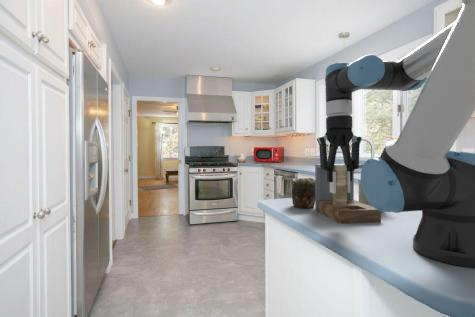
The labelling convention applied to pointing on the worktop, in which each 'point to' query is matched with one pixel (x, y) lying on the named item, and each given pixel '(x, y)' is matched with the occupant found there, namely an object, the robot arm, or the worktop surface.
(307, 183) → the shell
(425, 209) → the robot arm
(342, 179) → the peg
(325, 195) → the grey open drawer
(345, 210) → the socket block
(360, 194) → the can
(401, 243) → the worktop surface
